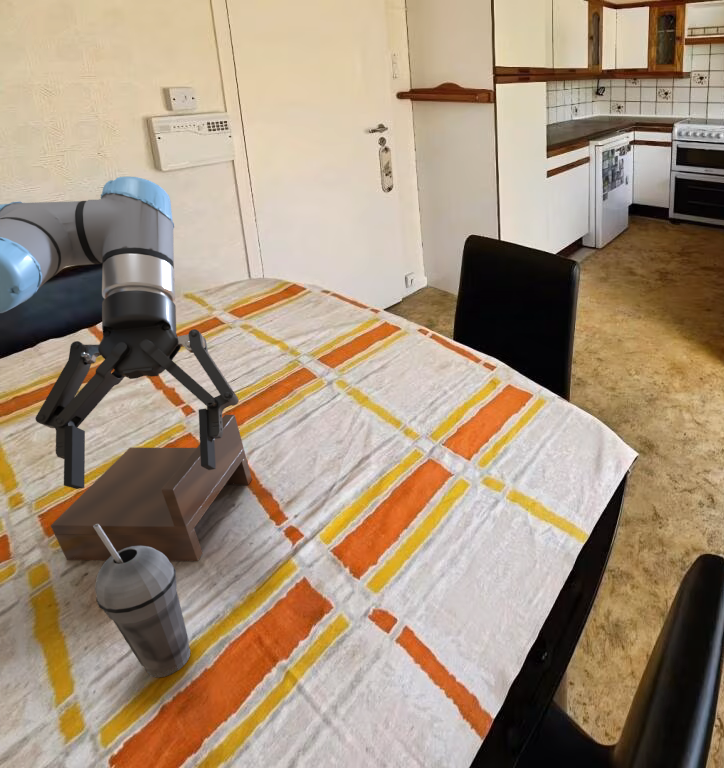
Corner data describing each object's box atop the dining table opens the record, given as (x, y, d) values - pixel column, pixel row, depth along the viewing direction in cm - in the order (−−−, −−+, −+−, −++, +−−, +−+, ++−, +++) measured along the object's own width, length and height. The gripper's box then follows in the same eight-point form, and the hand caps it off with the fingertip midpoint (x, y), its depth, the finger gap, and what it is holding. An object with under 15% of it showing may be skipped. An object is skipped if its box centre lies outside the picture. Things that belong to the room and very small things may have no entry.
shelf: (66, 560, 84) (32, 488, 78) (141, 478, 99) (117, 414, 94) (197, 561, 83) (172, 489, 77) (252, 479, 99) (234, 414, 93)
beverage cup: (209, 666, 69) (157, 526, 59) (135, 701, 65) (67, 558, 56) (197, 622, 74) (147, 487, 64) (127, 652, 70) (64, 514, 61)
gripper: (257, 303, 80) (268, 465, 74) (40, 325, 75) (35, 499, 70) (241, 277, 73) (253, 453, 67) (1, 298, 68) (-8, 490, 63)
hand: (142, 477), depth 68 cm, fingers open, 13 cm apart
